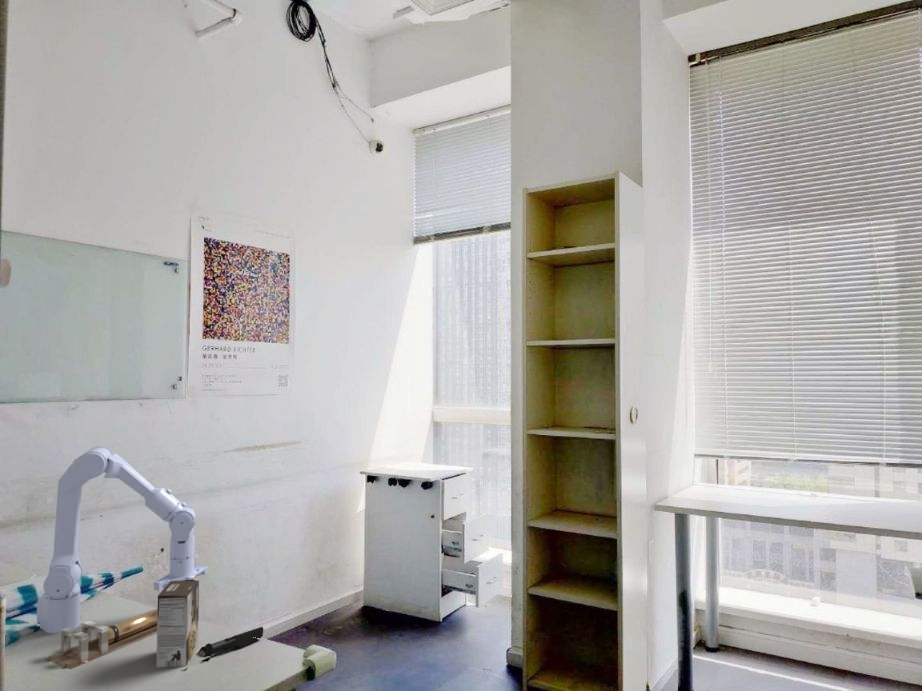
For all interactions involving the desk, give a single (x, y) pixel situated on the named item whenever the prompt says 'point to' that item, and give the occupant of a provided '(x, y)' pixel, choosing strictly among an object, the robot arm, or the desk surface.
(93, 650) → the board
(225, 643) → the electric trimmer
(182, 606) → the coffee box
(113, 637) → the thermos bottle
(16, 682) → the desk surface
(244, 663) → the desk surface
